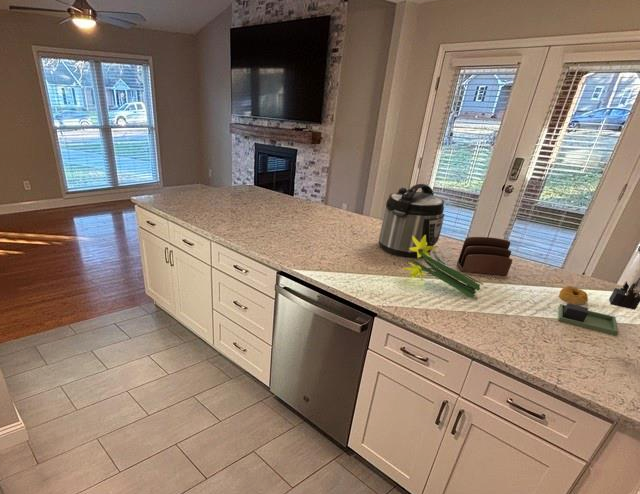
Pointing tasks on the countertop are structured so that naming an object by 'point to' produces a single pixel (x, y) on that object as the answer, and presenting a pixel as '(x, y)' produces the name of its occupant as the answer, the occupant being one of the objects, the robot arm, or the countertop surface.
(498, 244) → the letter holder
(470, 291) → the daffodil flowers
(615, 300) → the loose pad
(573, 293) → the bagel
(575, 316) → the seated pad
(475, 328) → the countertop surface
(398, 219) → the pressure cooker
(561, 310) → the tray
